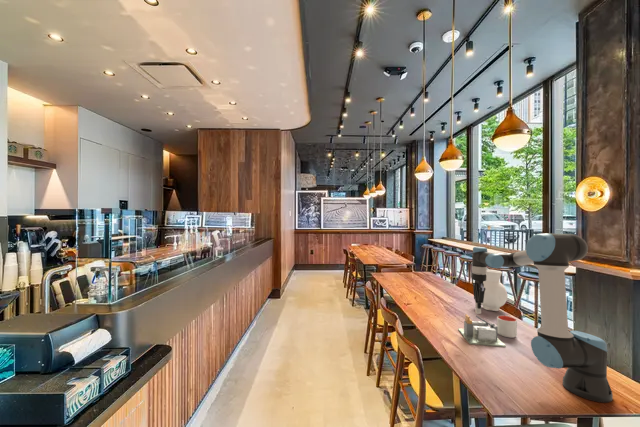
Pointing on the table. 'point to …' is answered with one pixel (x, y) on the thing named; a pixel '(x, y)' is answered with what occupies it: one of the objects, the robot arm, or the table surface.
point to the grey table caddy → (481, 334)
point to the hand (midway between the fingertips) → (478, 313)
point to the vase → (494, 291)
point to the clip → (468, 319)
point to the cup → (507, 326)
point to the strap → (484, 321)
